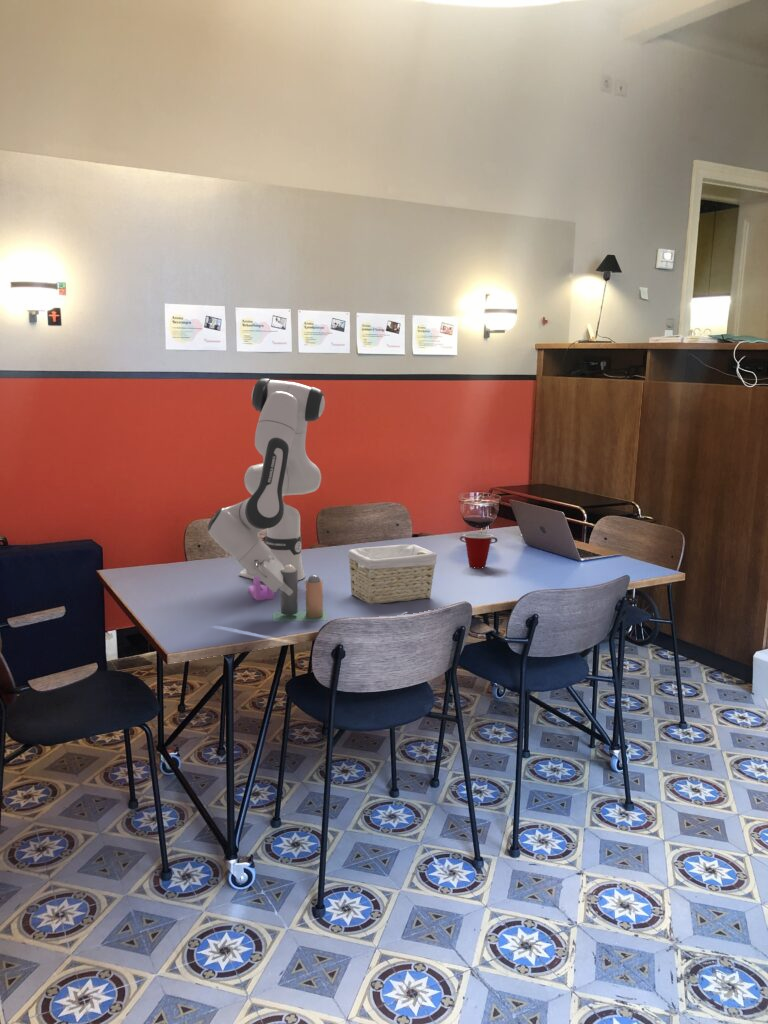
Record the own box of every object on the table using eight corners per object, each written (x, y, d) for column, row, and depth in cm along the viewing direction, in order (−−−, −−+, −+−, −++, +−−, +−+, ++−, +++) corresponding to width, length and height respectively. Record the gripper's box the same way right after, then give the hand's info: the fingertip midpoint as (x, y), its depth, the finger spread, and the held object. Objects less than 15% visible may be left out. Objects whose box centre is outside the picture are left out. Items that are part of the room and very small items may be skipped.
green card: (273, 624, 217) (273, 621, 217) (273, 614, 226) (273, 611, 226) (327, 623, 219) (327, 620, 219) (325, 613, 228) (325, 610, 227)
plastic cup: (489, 562, 290) (490, 531, 288) (494, 570, 279) (495, 537, 277) (460, 562, 290) (461, 530, 287) (464, 570, 279) (465, 537, 277)
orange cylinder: (302, 616, 221) (302, 576, 219) (311, 612, 226) (311, 572, 224) (317, 619, 219) (316, 578, 217) (326, 614, 224) (325, 574, 222)
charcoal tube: (277, 613, 221) (276, 565, 218) (287, 608, 225) (286, 561, 222) (291, 615, 218) (291, 567, 216) (301, 611, 223) (301, 564, 220)
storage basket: (413, 586, 258) (414, 542, 255) (437, 599, 244) (439, 552, 241) (346, 594, 248) (346, 548, 245) (367, 608, 233) (368, 560, 231)
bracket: (274, 599, 241) (273, 577, 240) (256, 600, 239) (255, 578, 238) (264, 588, 253) (264, 567, 252) (247, 589, 251) (247, 568, 250)
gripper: (262, 557, 207) (300, 592, 210) (264, 541, 227) (298, 573, 230) (245, 574, 208) (283, 609, 211) (249, 556, 228) (283, 588, 230)
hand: (291, 590), depth 221 cm, fingers closed on charcoal tube, 5 cm apart
